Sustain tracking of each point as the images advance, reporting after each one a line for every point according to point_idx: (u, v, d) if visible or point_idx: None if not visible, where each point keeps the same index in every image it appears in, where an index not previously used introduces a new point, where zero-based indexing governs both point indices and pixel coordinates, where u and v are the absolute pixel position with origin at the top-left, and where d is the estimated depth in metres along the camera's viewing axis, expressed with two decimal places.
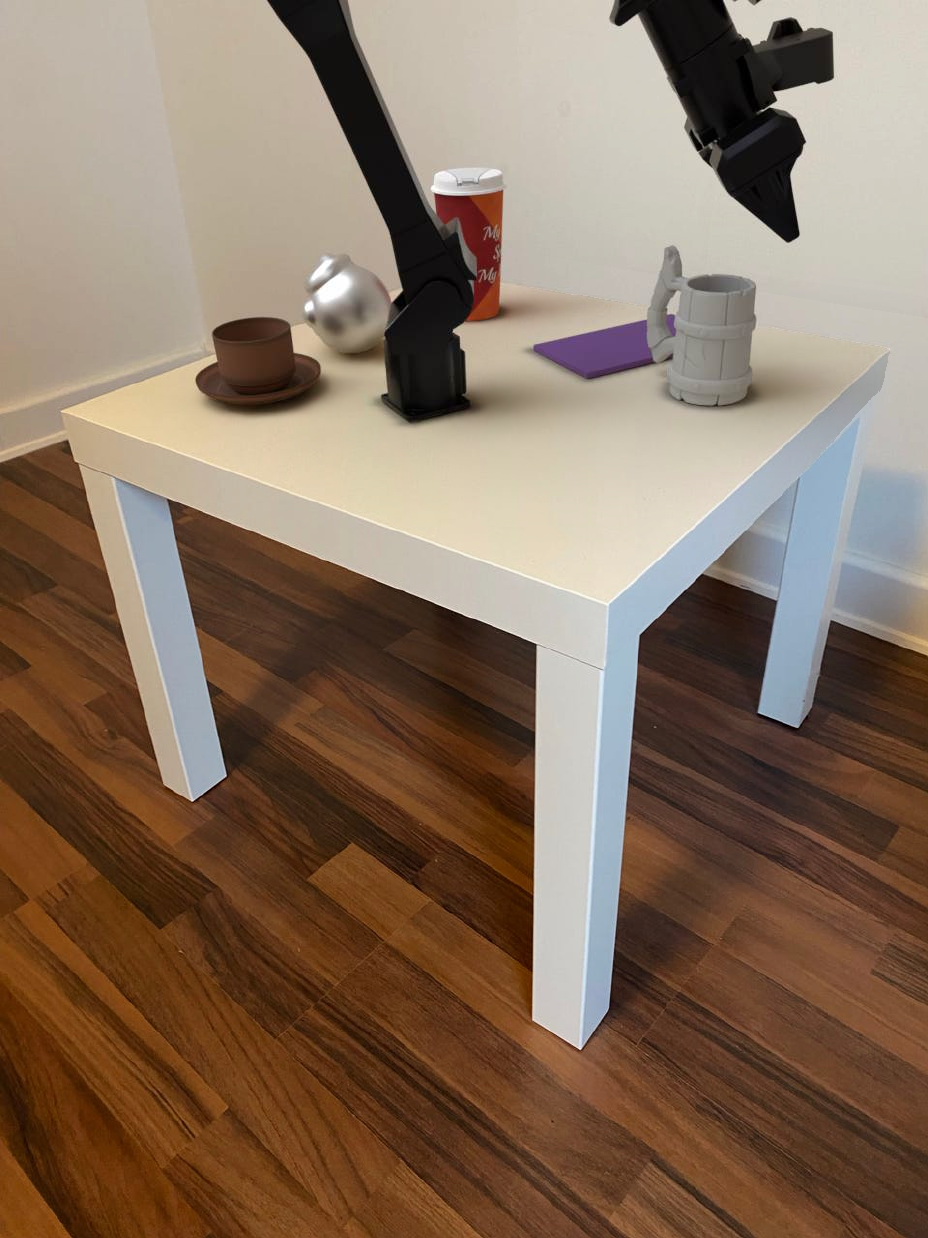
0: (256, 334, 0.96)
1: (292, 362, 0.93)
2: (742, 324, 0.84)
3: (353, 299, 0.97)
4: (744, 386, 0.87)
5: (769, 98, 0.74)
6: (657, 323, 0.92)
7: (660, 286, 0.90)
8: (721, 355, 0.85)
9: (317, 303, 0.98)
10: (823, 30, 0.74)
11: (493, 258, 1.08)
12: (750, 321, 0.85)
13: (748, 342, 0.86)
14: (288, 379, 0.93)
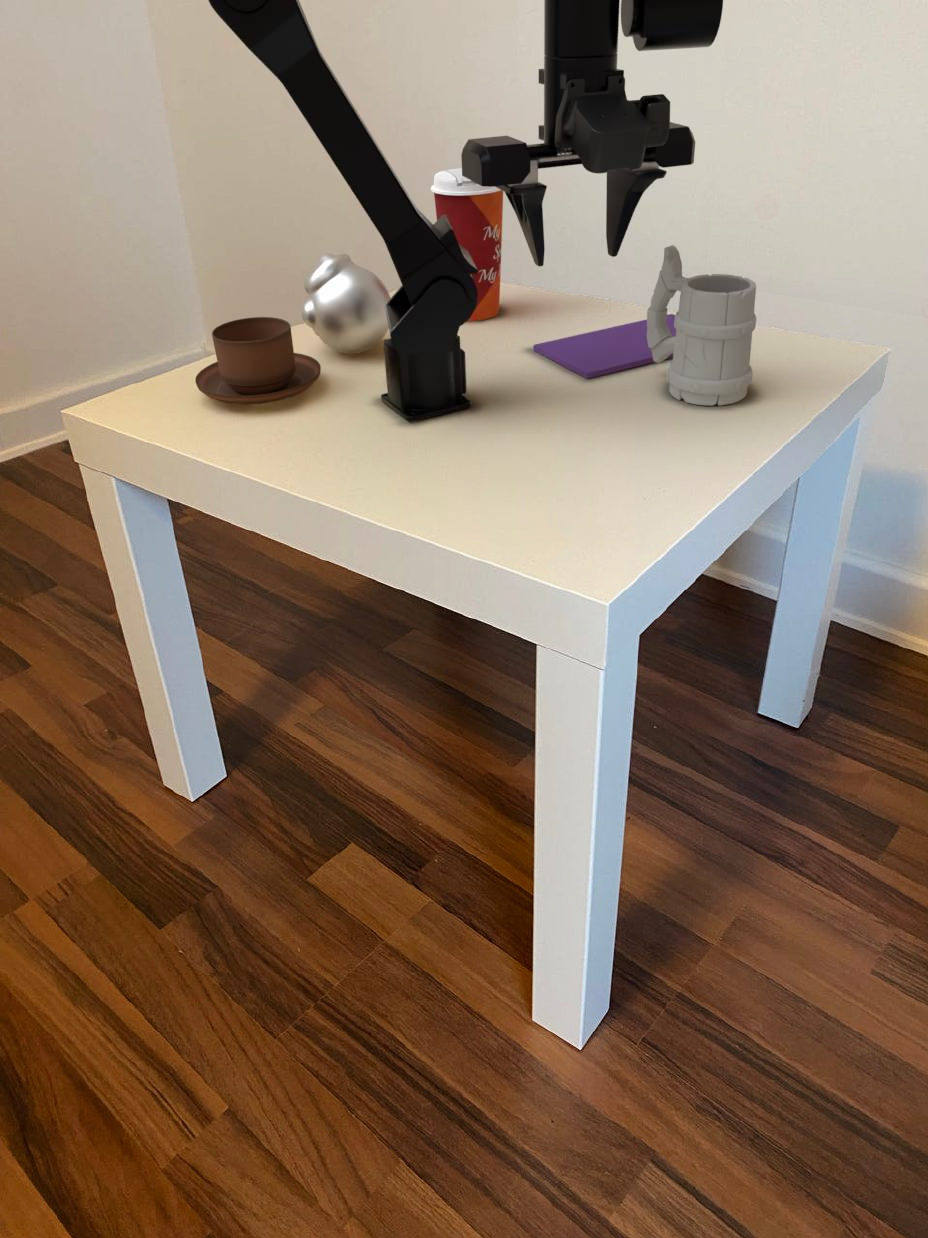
0: (256, 334, 0.96)
1: (292, 362, 0.93)
2: (742, 324, 0.84)
3: (353, 299, 0.97)
4: (744, 386, 0.87)
5: (558, 142, 0.77)
6: (657, 323, 0.92)
7: (660, 286, 0.90)
8: (721, 355, 0.85)
9: (317, 303, 0.98)
10: (625, 129, 0.72)
11: (493, 258, 1.08)
12: (750, 321, 0.85)
13: (748, 342, 0.86)
14: (288, 379, 0.93)
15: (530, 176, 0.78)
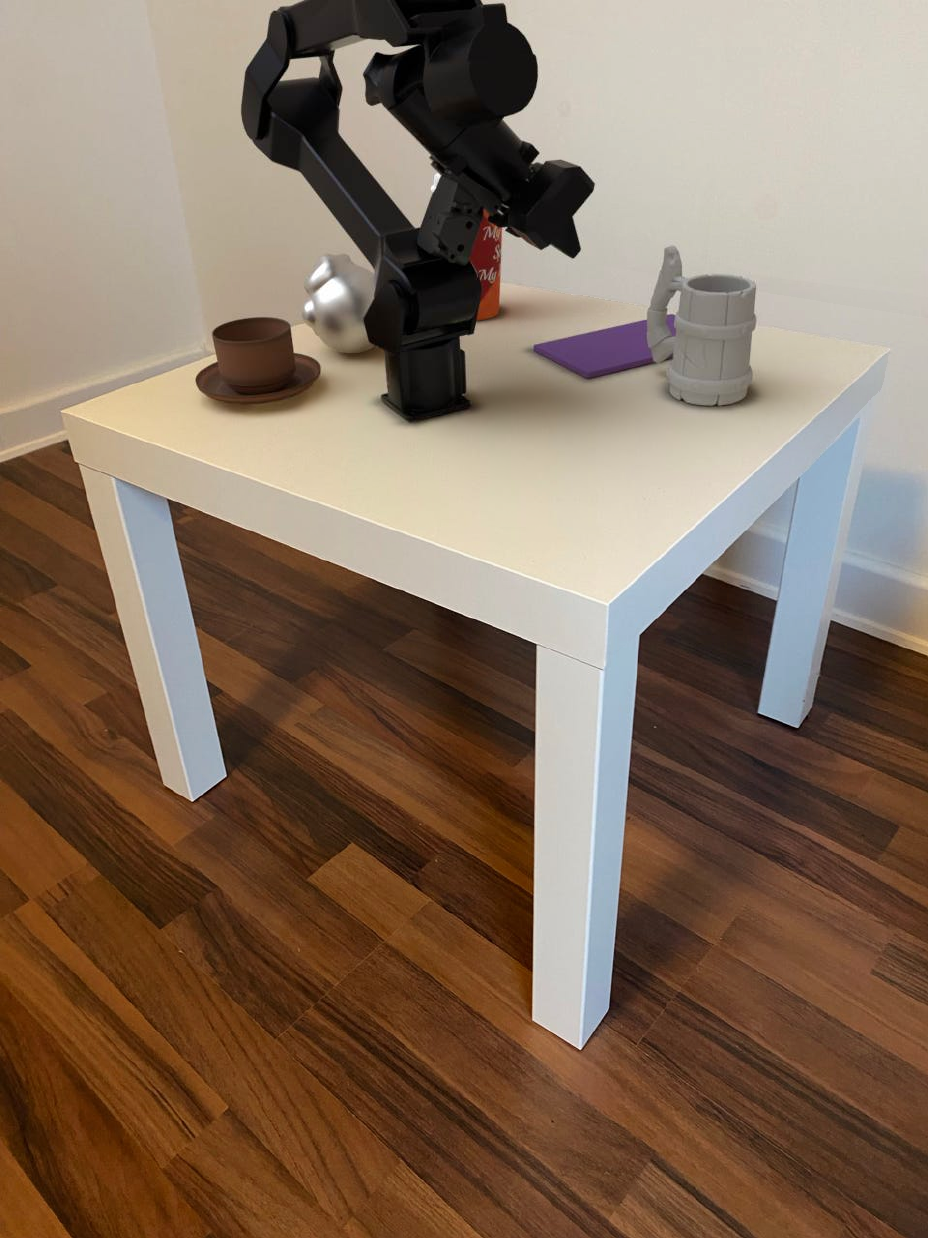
0: (256, 334, 0.96)
1: (292, 362, 0.93)
2: (742, 324, 0.84)
3: (353, 299, 0.97)
4: (744, 386, 0.87)
5: None
6: (657, 323, 0.92)
7: (660, 286, 0.90)
8: (721, 355, 0.85)
9: (317, 303, 0.98)
10: (425, 245, 0.80)
11: (493, 258, 1.08)
12: (750, 321, 0.85)
13: (748, 342, 0.86)
14: (288, 379, 0.93)
15: None
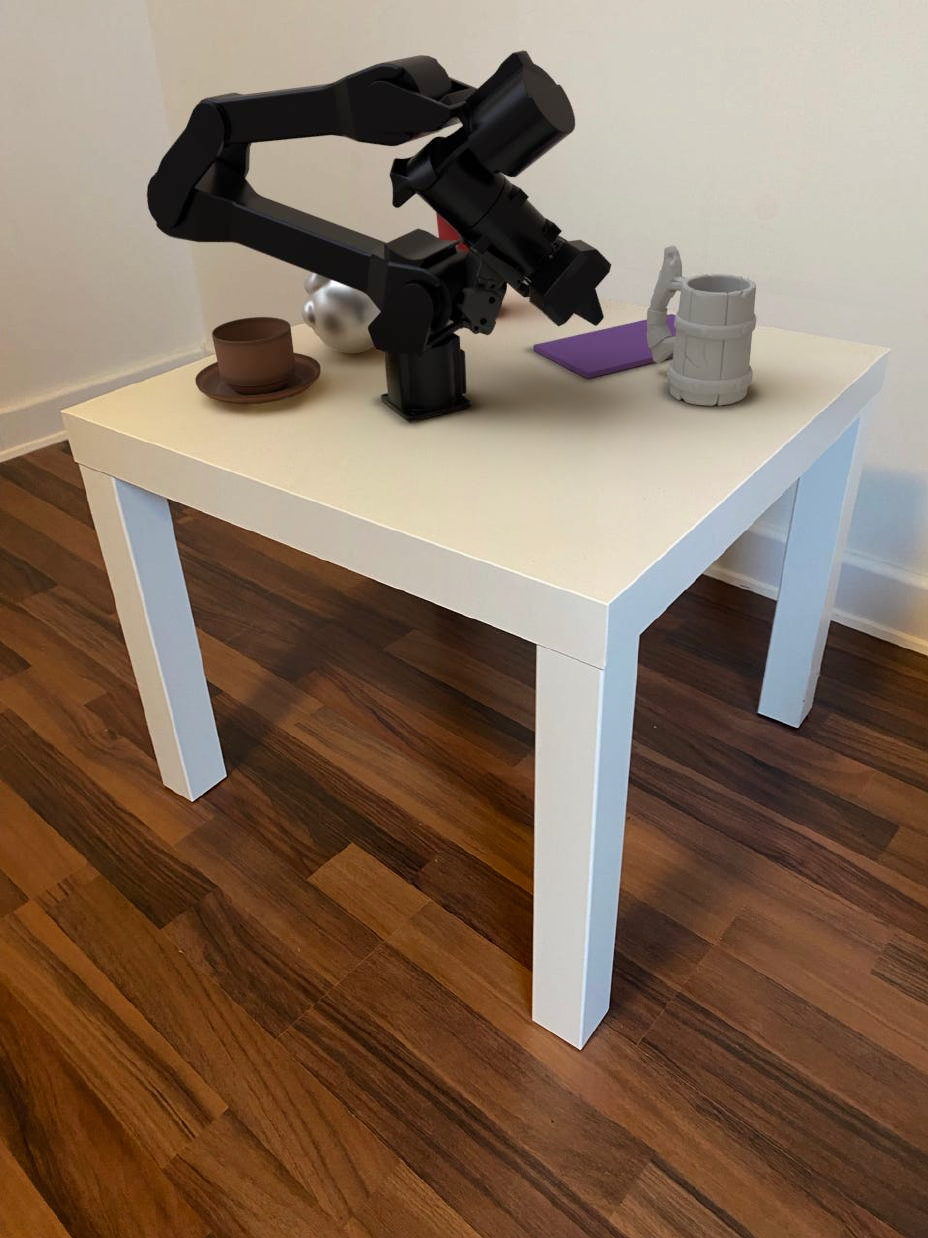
0: (256, 334, 0.96)
1: (292, 362, 0.93)
2: (742, 324, 0.84)
3: (353, 299, 0.97)
4: (744, 386, 0.87)
5: None
6: (657, 323, 0.92)
7: (660, 286, 0.90)
8: (721, 355, 0.85)
9: (317, 303, 0.98)
10: None
11: None
12: (750, 321, 0.85)
13: (748, 342, 0.86)
14: (288, 379, 0.93)
15: None
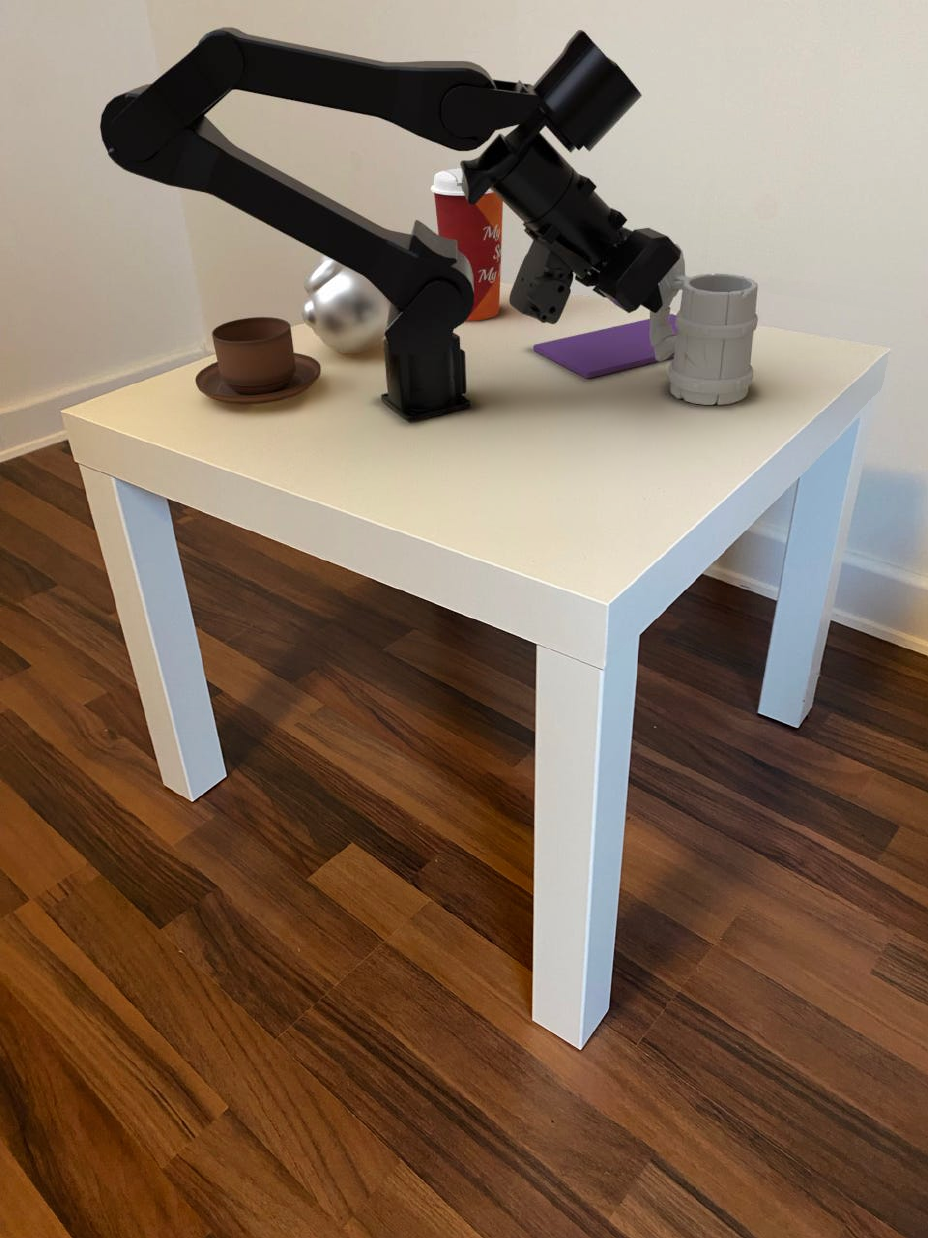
0: (256, 334, 0.96)
1: (292, 362, 0.93)
2: (742, 324, 0.84)
3: (353, 299, 0.97)
4: (744, 386, 0.87)
5: None
6: (659, 322, 0.92)
7: (663, 285, 0.90)
8: (721, 355, 0.85)
9: (317, 303, 0.98)
10: (517, 306, 0.86)
11: (493, 258, 1.08)
12: (751, 321, 0.85)
13: (749, 342, 0.86)
14: (288, 379, 0.93)
15: None
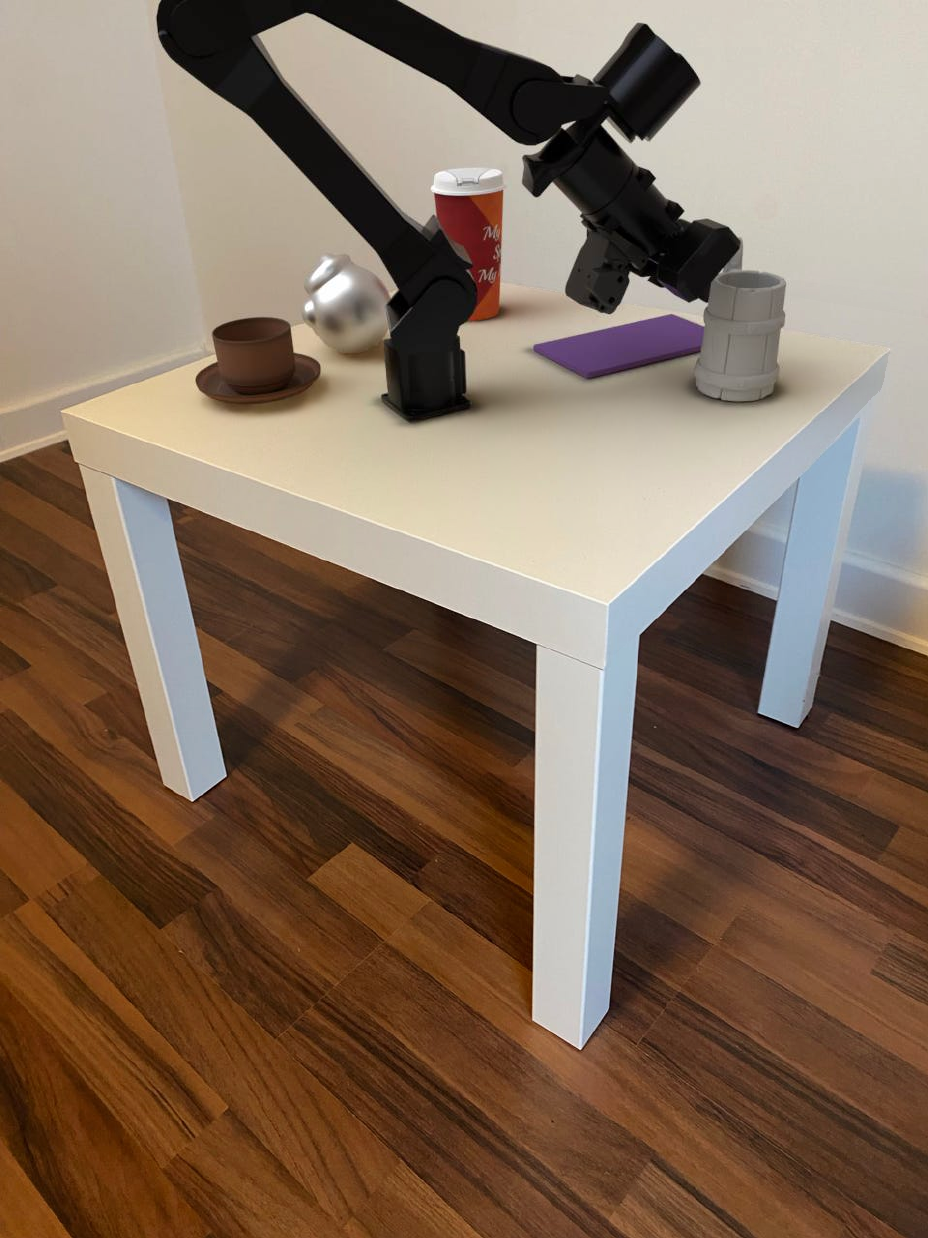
0: (256, 334, 0.96)
1: (292, 362, 0.93)
2: (750, 322, 0.84)
3: (353, 299, 0.97)
4: (750, 387, 0.87)
5: None
6: None
7: None
8: (726, 349, 0.86)
9: (317, 303, 0.98)
10: (574, 296, 0.87)
11: (493, 258, 1.08)
12: (762, 322, 0.84)
13: (761, 343, 0.85)
14: (288, 379, 0.93)
15: None
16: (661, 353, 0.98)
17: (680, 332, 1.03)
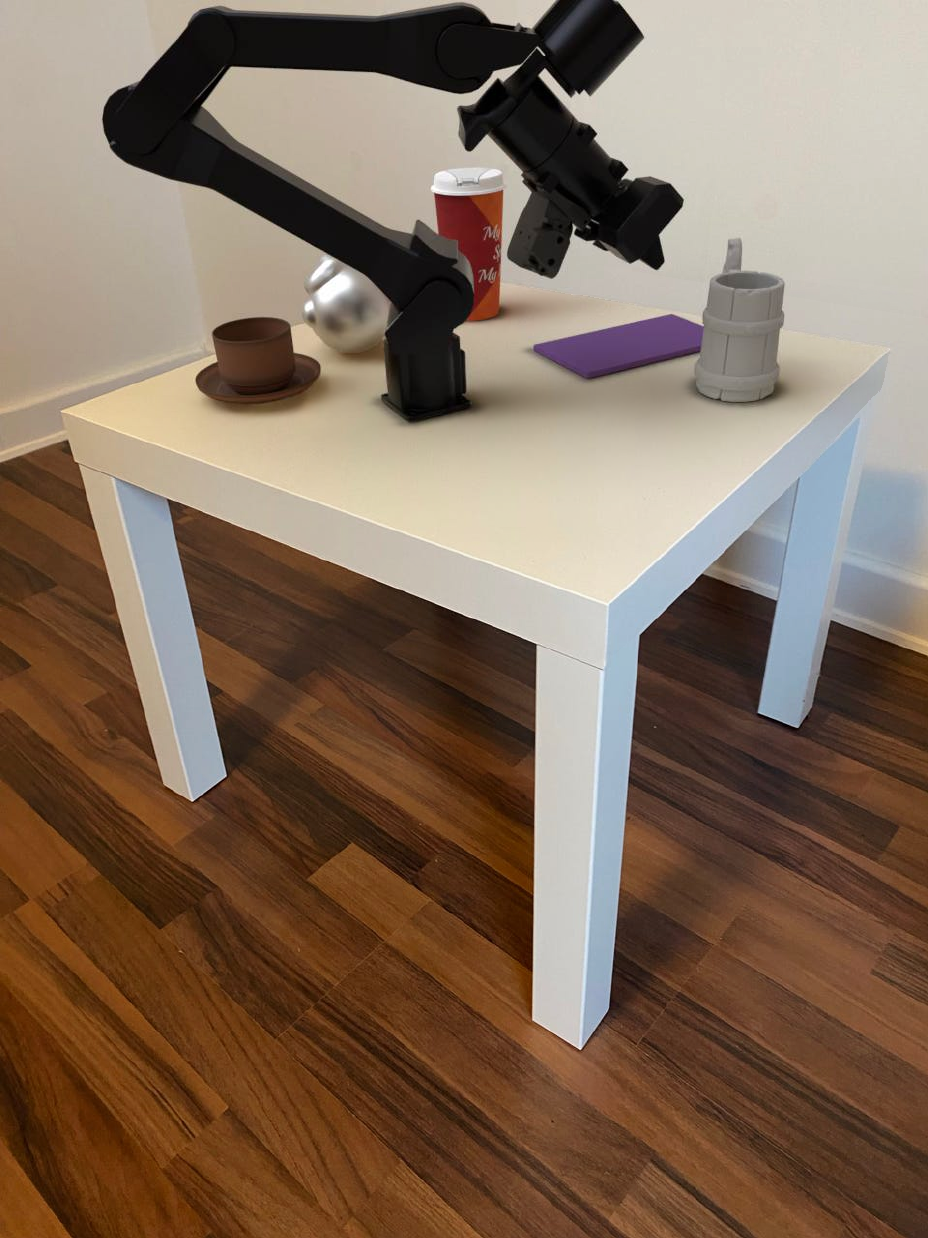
0: (256, 334, 0.96)
1: (292, 362, 0.93)
2: (748, 323, 0.84)
3: (353, 299, 0.97)
4: (750, 387, 0.87)
5: None
6: None
7: None
8: (725, 350, 0.86)
9: (317, 303, 0.98)
10: (515, 259, 0.83)
11: (493, 258, 1.08)
12: (760, 322, 0.84)
13: (760, 344, 0.85)
14: (288, 379, 0.93)
15: None
16: (661, 353, 0.98)
17: (680, 332, 1.03)
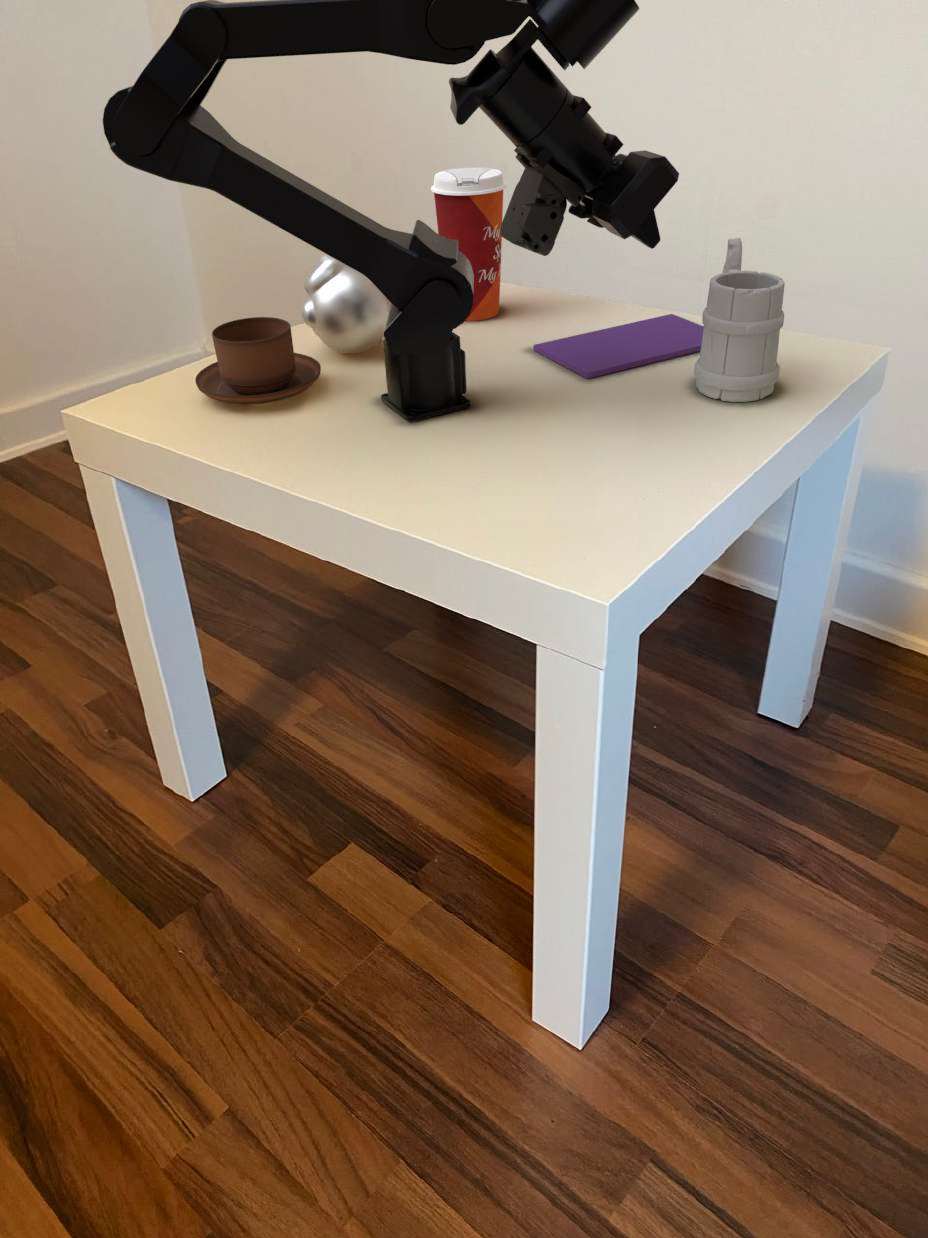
0: (256, 334, 0.96)
1: (292, 362, 0.93)
2: (748, 323, 0.84)
3: (353, 299, 0.97)
4: (750, 387, 0.87)
5: None
6: None
7: None
8: (725, 350, 0.86)
9: (317, 303, 0.98)
10: (508, 236, 0.82)
11: (493, 258, 1.08)
12: (760, 322, 0.84)
13: (760, 344, 0.85)
14: (288, 379, 0.93)
15: None
16: (661, 353, 0.98)
17: (680, 332, 1.03)
